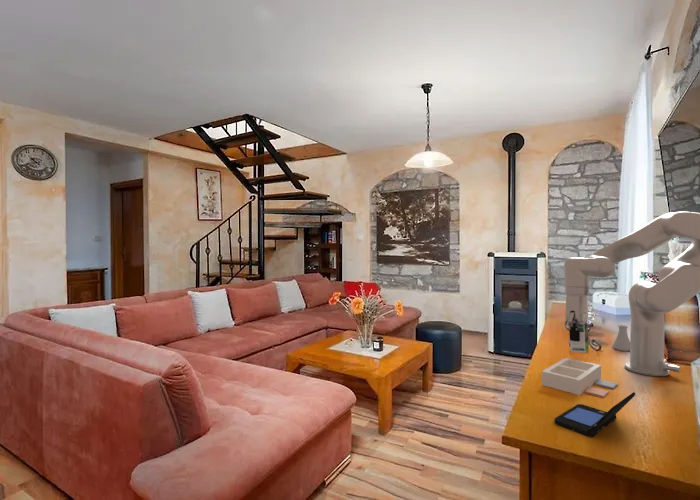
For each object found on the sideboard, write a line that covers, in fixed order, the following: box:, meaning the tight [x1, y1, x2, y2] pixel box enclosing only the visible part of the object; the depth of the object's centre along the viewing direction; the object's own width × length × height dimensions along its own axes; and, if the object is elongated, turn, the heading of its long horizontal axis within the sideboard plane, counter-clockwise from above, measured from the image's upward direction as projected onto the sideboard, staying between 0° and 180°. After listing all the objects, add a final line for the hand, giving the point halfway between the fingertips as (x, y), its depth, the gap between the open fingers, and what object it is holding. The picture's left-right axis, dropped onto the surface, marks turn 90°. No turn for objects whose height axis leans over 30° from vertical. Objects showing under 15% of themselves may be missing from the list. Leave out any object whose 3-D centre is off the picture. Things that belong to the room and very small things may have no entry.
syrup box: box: [569, 312, 589, 354], centre depth 143 cm, size 6×6×14 cm
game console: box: [553, 391, 636, 438], centre depth 98 cm, size 16×14×9 cm
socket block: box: [541, 357, 618, 399], centre depth 125 cm, size 16×20×4 cm
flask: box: [611, 324, 630, 352], centre depth 163 cm, size 7×7×10 cm
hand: (578, 338), depth 143 cm, fingers closed on syrup box, 7 cm apart
